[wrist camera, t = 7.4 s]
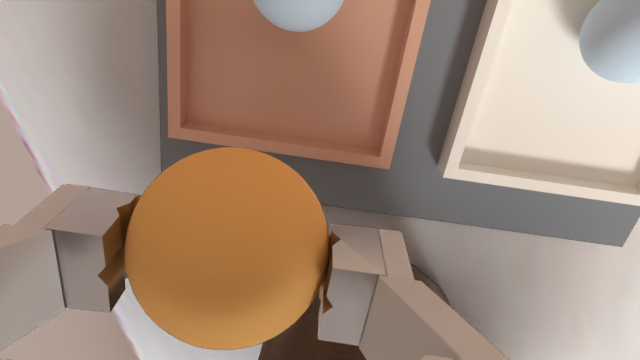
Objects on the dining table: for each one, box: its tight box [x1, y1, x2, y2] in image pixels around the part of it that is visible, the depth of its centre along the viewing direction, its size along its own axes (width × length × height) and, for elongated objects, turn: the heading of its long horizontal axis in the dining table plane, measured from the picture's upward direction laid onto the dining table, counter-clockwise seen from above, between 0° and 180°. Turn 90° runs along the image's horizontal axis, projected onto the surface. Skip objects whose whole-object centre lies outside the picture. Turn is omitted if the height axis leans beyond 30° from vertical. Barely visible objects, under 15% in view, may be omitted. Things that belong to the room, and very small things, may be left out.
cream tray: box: [437, 0, 640, 206], centre depth 20 cm, size 11×11×1 cm
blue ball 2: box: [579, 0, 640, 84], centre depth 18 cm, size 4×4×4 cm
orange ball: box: [125, 147, 329, 350], centre depth 9 cm, size 4×4×4 cm
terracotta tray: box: [166, 0, 431, 170], centre depth 20 cm, size 11×11×1 cm
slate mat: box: [157, 0, 640, 247], centre depth 21 cm, size 18×27×1 cm, turn 82°
